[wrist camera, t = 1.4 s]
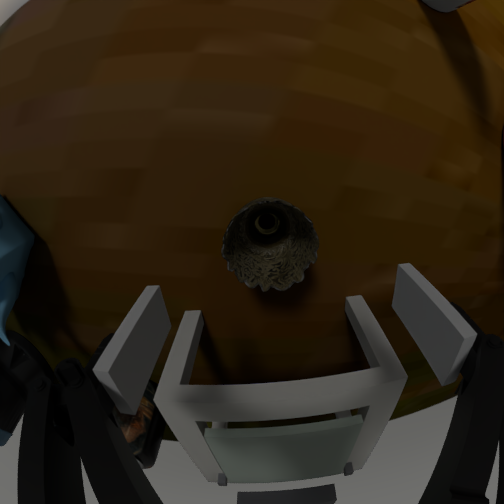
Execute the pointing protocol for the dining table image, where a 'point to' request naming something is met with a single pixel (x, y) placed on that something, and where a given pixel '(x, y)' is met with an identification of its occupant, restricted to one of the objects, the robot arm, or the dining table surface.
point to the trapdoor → (285, 457)
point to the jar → (143, 428)
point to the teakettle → (11, 260)
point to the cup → (270, 245)
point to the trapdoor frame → (280, 393)
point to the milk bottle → (446, 4)
